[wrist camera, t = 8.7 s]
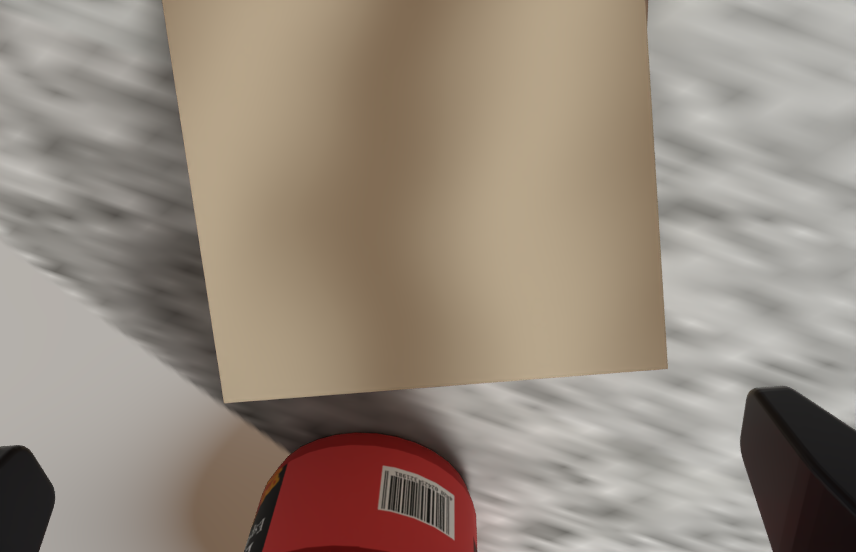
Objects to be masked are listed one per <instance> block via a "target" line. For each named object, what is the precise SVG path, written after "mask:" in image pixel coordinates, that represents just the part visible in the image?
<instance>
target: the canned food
mask: <svg viewBox="0 0 856 552" xmlns="http://www.w3.org/2000/svg"><path fill="white" fill-rule="evenodd" d="M244 552H477V528H476V513H475V509H474V506H473V502H472V499H471V497H470V494H469V492H468V489H467V487H466V485H465V483H464V481H463V479H462V478H461V476H460V474H459V473H458V472H457V471H456V470H455V469H454V468H453V466H452V465H451V464H450V463H449V462H448V461H446V460H445V459H444V458H442V457H441V456H439V455H438V454H437V453H435V452H434V451H432V450H430V449H428V448H426V447H424V446H421V445H419V444H417V443H415V442H412V441H408V440H405V439H402V438H399V437H395V436H389V435H383V434H377V433H348V434H339V435H333V436H329V437H325V438H322V439H318V440H315V441H313V442H311V443H309V444H306V445H304V446H302V447H300V448H299V449H297V450H296V451H295V452H293V453H292V454H291V455H289V456H288V457H287V458H286V459H285V461H284V462H283V463H282V464H281V465H280V466H279V468H278V469H277V470H276V472H275V473H274V474H273V476H272V477H271V478H270V480H269V481H268V482H267V485H266V487H265V490H264V492H263V494H262V497H261V500H260V503H259V506H258V509H257V512H256V515H255V519H254V522H253V525H252V528H251V531H250V535H249V538H248V541H247V544H246V547H245V550H244Z"/></svg>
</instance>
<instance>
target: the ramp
mask: <svg viewBox="0 0 856 552" xmlns="http://www.w3.org/2000/svg"><path fill="white" fill-rule="evenodd" d="M162 4H163V10H164V16H165V23H166V29H167V36H168V42H169V49H170V55H171V62H172V68H173V75H174V81H175V88H176V94H177V101H178V107H179V114H180V120H181V127H182V133H183V140H184V146H185V153H186V159H187V166H188V172H189V179H190V185H191V192H192V198H193V205H194V211H195V218H196V224H197V231H198V237H199V244H200V250H201V257H202V263H203V270H204V276H205V283H206V289H207V296H208V302H209V309H210V315H211V322H212V328H213V335H214V341H215V348H216V354H217V361H218V367H219V374H220V380H221V387H222V393H223V400H224V403H234V402H247V401H259V400H272V399H285V398H298V397H311V396H324V395H337V394H350V393H362V392H375V391H388V390H401V389H414V388H427V387H440V386H453V385H466V384H478V383H491V382H504V381H517V380H530V379H543V378H556V377H569V376H581V375H594V374H607V373H620V372H633V371H646V370H659V369H668V364H667V347H666V331H665V315H664V299H663V283H662V266H661V250H660V234H659V218H658V201H657V185H656V169H655V153H654V136H653V120H652V104H651V88H650V72H649V55H648V39H647V23H646V7H645V0H162Z"/></svg>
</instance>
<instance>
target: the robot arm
mask: <svg viewBox="0 0 856 552" xmlns="http://www.w3.org/2000/svg"><path fill="white" fill-rule="evenodd" d="M740 447H741V454H742V458H743V461H744V465H745V468H746V471H747V474H748V477H749V480H750V483H751V486H752V489H753V492H754V495H755V498H756V501H757V504H758V508H759V511H760V514H761V517H762V520H763V523H764V526H765V529H766V532H767V535H768V538H769V541H770V544H771V547H772V551H773V552H856V430H855V429H853V428H851V427H850V426H848V425H847V424H845V423H844V422H842V421H841V420H839V419H838V418H836V417H835V416H833V415H832V414H830V413H829V412H827V411H826V410H824V409H823V408H821V407H820V406H818V405H817V404H815V403H814V402H812V401H811V400H809V399H808V398H806V397H805V396H803V395H802V394H800V393H798V392H797V391H795V390H794V389H792V388H790V387H787V386H774V387H761V388H754V389H752V390H751V391H750V392H749V393H748V395H747V399H746V404H745V411H744V417H743V424H742V430H741V436H740ZM54 504H55V491H54V487H53V485H52V483H51V482H50V480H49V479H48V477H47V475H46V474H45V472H44V471H43V469H42V468H41V466H40V464H39V463H38V461H37V460H36V458H35V457H34V455H33V453H32V452H31V451H30V450H29V449H28V448H26V447H25V446H20V445H14V446H1V447H0V552H39V550H40V547H41V544H42V541H43V538H44V535H45V532H46V529H47V526H48V523H49V519H50V516H51V513H52V511H53V508H54Z"/></svg>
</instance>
